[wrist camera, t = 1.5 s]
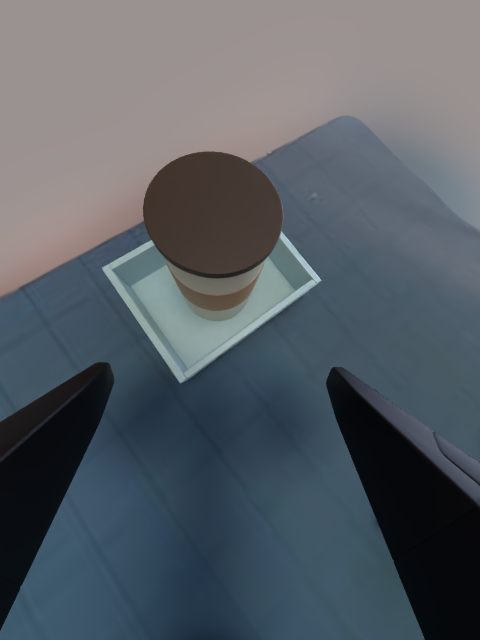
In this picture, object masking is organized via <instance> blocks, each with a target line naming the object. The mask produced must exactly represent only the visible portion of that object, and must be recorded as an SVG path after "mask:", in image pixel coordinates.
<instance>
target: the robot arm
mask: <svg viewBox="0 0 480 640" xmlns="http://www.w3.org/2000/svg"><path fill="white" fill-rule="evenodd" d="M113 384H114V376H113V372H112V369H111V366H110V364H109V363H107V362H98V363H95V364H93V365H92V366H90V367H89V368H87V369H85V370H84V371H82V372H80V373H79V374H77V375H76V376H74V377H72V378H71V379H69V380H68V381H66V382H64V383H63V384H61V385H59V386H58V387H56V388H55V389H53V390H51V391H50V392H48V393H47V394H45V395H43V396H42V397H40V398H38V399H37V400H35V401H34V402H32V403H30V404H29V405H27V406H26V407H24V408H22V409H21V410H19V411H17V412H16V413H14V414H13V415H11V416H9V417H8V418H6V419H5V420H3V421H1V422H0V630H1V628H2V626H3V624H4V622H5V620H6V618H7V615H8V613H9V611H10V609H11V607H12V605H13V603H14V601H15V599H16V597H17V595H18V592H19V590H20V586H21V585H22V584H23V582H24V579H25V577H26V575H27V573H28V571H29V569H30V567H31V565H32V563H33V561H34V559H35V557H36V554H37V552H38V550H39V548H40V546H41V544H42V542H43V540H44V538H45V536H46V534H47V532H48V529H49V527H50V525H51V523H52V521H53V519H54V517H55V515H56V513H57V511H58V509H59V506H60V504H61V502H62V500H63V498H64V496H65V494H66V492H67V490H68V488H69V486H70V484H71V481H72V479H73V477H74V475H75V473H76V471H77V469H78V467H79V465H80V463H81V461H82V459H83V456H84V454H85V452H86V450H87V448H88V446H89V444H90V442H91V440H92V438H93V436H94V433H95V431H96V429H97V427H98V425H99V423H100V420H101V418H102V415H103V412H104V410H105V407H106V404H107V401H108V398H109V395H110V393H111V390H112V387H113ZM326 386H327V389H328V393H329V396H330V400H331V403H332V407H333V410H334V414H335V417H336V420H337V423H338V425H339V428H340V430H341V433H342V435H343V438H344V440H345V443H346V445H347V448H348V450H349V453H350V455H351V457H352V460H353V462H354V465H355V467H356V470H357V472H358V475H359V477H360V480H361V482H362V485H363V487H364V490H365V492H366V495H367V497H368V500H369V502H370V504H371V507H372V509H373V512H374V514H375V517H376V519H377V522H378V524H379V527H380V529H381V532H382V534H383V537H384V539H385V542H386V544H387V546H388V549H389V551H390V554H391V556H392V559H393V560H394V564H395V567H396V569H397V572H398V574H399V577H400V579H401V582H402V584H403V586H404V589H405V591H406V594H407V596H408V599H409V601H410V604H411V606H412V609H413V611H414V614H415V616H416V619H417V621H418V624H419V626H420V628H421V631H422V633H423V636H424V638H425V640H480V463H479V462H478V461H476V460H475V459H473V458H472V457H470V456H468V455H467V454H465V453H464V452H463V451H461V450H460V449H458V448H457V447H455V446H454V445H452V444H451V443H449V442H448V441H446V440H445V439H444V438H442V437H441V436H439V435H438V434H437V433H435V432H432V430H431V429H429V428H428V427H427V426H425V425H424V424H422V423H421V422H420V421H418V420H417V419H415V418H414V417H412V416H411V415H410V414H408V413H407V412H405V411H404V410H402V409H401V408H400V407H398V406H397V405H395V404H394V403H393V402H391V401H390V400H388V399H387V398H385V397H384V396H383V395H381V394H380V393H378V392H377V391H376V390H374V389H373V388H371V387H370V386H368V385H367V384H366V383H364V382H363V381H361V380H360V379H359V378H357V377H356V376H354V375H353V374H351V373H350V372H349V371H347V370H346V369H344V368H342V367H333V368H332V369H331V371H330V373H329V376H328V378H327V381H326Z"/></svg>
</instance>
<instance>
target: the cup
mask: <svg viewBox="0 0 480 640" xmlns="http://www.w3.org/2000/svg"><path fill="white" fill-rule="evenodd" d="M143 216H144V222H145V226H146V229H147V231H148V234H149V236H150V238H151V240H152V241H153V243H154V245H155V247H156V248H157V249H158V251H159V252H160V253H161V254H162V255H163V257H164V259H165V261H166V263H167V266H168V268H169V270H170V272H171V274H172V276H173V278H174V280H175V282H176V284H177V286H178V288H179V289H180V291H181V293H182V294H183V296H184V298H185V300H186V302H187V304H188V306H189V307H190V309H191V310H192V311H193V312H194V313H195V314H197V315H198V316H200V317H201V318H204V319H206V320H210V321H223V320H227V319H230V318H232V317H234V316H235V315H237V314H238V313H239V312H240V311H241V310H242V309H243V308H244V306H245V304H246V302H247V300H248V298H249V296H250V294H251V292H252V290H253V288H254V286H255V284H256V282H257V280H258V277H259V275H260V273H261V271H262V269H263V266H264V263H265V260H266V258H267V257H268V256H269V255H270V253H271V252H272V250H273V249H274V247H275V245H276V243H277V241H278V239H279V237H280V234H281V231H282V227H283V208H282V202H281V199H280V196H279V194H278V192H277V190H276V188H275V186H274V185H273V183H272V182H271V180H270V179H269V178H268V177H267V176H266V175H265V174H264V173H263V172H262V171H261V170H260V169H259V168H257V167H256V166H255V165H253V164H252V163H250V162H248V161H246V160H244V159H242V158H240V157H237V156H234V155H231V154H227V153H222V152H198V153H193V154H189V155H185V156H183V157H180V158H178V159H176V160H174V161H172V162H170V163H169V164H168V165H166V166H165V167H164V168H162V169H161V170H160V171H159V172H158V173H157V175H156V176H155V177H154V179H153V180H152V181H151V183H150V185H149V187H148V189H147V191H146V195H145V198H144V205H143Z"/></svg>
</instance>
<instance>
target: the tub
mask: <svg viewBox="0 0 480 640" xmlns="http://www.w3.org/2000/svg"><path fill="white" fill-rule="evenodd" d="M102 269H103V271H104V272H105V274H106V275H107V277H108V278H109V280H110V281H111V283H112V284H113V286H114V287H115V289H116V290H117V291H118V293H119V294H120V296H121V297H122V299H123V300H124V302H125V303H126V305H127V306H128V308H129V309H130V311H131V312H132V314H133V315H134V316H135V318H136V319H137V321H138V322H139V324H140V325H141V327H142V328H143V330H144V331H145V333H146V334H147V336H148V337H149V338H150V340H151V341H152V343H153V344H154V346H155V347H156V349H157V350H158V352H159V353H160V355H161V356H162V358H163V359H164V361H165V362H166V363H167V365H168V366H169V368H170V369H171V371H172V372H173V374H174V375H175V377H176V378H177V380H178V381H179V383H183V382H185V381H187V380H189V379H190V378H191V377H193V376H194V375H195V374H197V373H198V372H200V371H201V370H202V369H204V368H205V367H206V366H208V365H209V364H210V363H212V362H213V361H214V360H216V359H217V358H219V357H220V356H221V355H223V354H224V353H225V352H227V351H228V350H229V349H231V348H232V347H234V346H235V345H236V344H238V343H239V342H240V341H242V340H243V339H244V338H246V337H247V336H248V335H250V334H251V333H253V332H254V331H255V330H257V329H258V328H259V327H261V326H262V325H263V324H265V323H266V322H268V321H269V320H270V319H272V318H273V317H274V316H276V315H277V314H278V313H280V312H281V311H282V310H284V309H285V308H287V307H288V306H289V305H291V304H292V303H293V302H295V301H296V300H297V299H299V298H300V297H301V296H303V295H304V294H305V293H307V292H308V291H309V290H310V289H311V288H313V287H314V286H315V285H316V284H318V283H319V282H320V281H321V280H320V278H319V277H318V276H317V275H316V273H315V272H314V271H313V270H312V268H311V267H310V266H309V265H308V264H307V262H306V261H305V260H304V259H303V257H302V256H301V255H300V254H299V252H298V251H297V250H296V249H295V247H294V246H293V245H292V244H291V243H290V241H289V240H288V239H287V238H286V236H285V235H284V234H283V233H282V231H281V234H280V237H279V239H278V241H277V243H276V245H275V247H274V249H273V250H272V252H271V253H270V255H269V256H268V257H267V258H266V260H265V263H264V266H263V269H262V271H261V273H260V275H259V277H258V280H257V282H256V284H255V286H254V288H253V290H252V292H251V294H250V296H249V298H248V300H247V302H246V304H245V306H244V308H243V309H242V310H241V311H240V312H239V313H238V314H237V315H235V316H234V317H232V318H230V319H227V320H223V321H210V320H206V319H204V318H201V317H200V316H198V315H197V314H195V313H194V312H193V311H192V310H191V309H190V307H189V306H188V304H187V302H186V300H185V298H184V296H183V294H182V293H181V291H180V289H179V288H178V286H177V284H176V282H175V280H174V278H173V276H172V274H171V272H170V270H169V268H168V266H167V263H166V261H165V259H164V257H163V255H162V254H161V253H160V252H159V251H158V249H157V248H156V247H155V245H154V243H153V241H152V240H151V241H149V242H147V243H145V244H143V245H142V246H140V247H138V248H136V249H135V250H133V251H131V252H129V253H127V254H126V255H124V256H122V257H120V258H119V259H117V260H115V261H113V262H111V263H110V264H108V265H106V266H104V267H103V268H102Z"/></svg>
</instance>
